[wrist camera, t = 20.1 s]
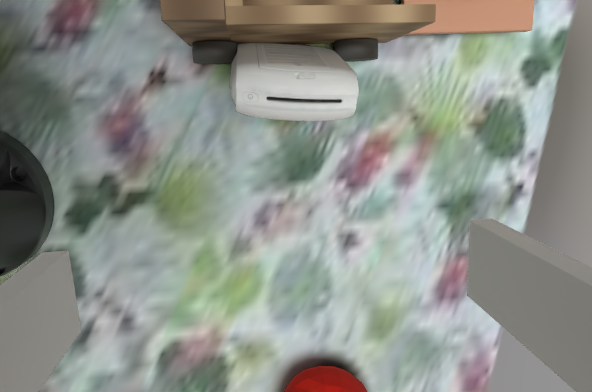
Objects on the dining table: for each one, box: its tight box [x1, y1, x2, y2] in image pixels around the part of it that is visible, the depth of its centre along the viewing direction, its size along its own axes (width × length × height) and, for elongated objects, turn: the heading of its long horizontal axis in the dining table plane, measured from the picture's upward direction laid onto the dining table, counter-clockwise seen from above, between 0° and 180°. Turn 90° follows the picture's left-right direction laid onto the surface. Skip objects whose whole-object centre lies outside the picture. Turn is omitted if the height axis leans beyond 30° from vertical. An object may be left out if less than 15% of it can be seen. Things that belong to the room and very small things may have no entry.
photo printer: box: [230, 43, 359, 121], centre depth 38 cm, size 10×4×12 cm, turn 87°
